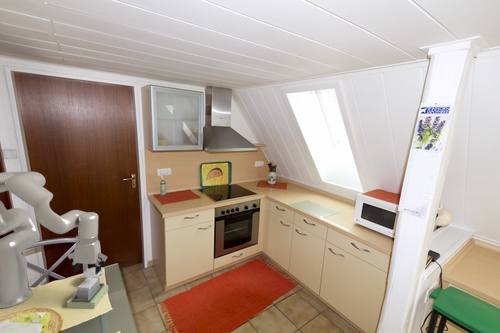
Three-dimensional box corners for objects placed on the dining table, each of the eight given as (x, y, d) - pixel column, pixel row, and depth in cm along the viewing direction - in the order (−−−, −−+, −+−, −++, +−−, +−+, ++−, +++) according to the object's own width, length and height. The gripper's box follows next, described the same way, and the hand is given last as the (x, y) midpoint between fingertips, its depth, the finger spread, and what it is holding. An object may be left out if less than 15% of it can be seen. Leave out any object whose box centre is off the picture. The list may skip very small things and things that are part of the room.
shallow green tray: (67, 307, 103) (66, 300, 103) (84, 289, 115) (83, 282, 115) (94, 308, 104) (94, 300, 104) (108, 290, 116) (108, 283, 116)
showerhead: (93, 263, 126) (108, 267, 124) (93, 275, 127) (108, 278, 125) (77, 273, 116) (93, 277, 115) (77, 285, 118) (93, 290, 116)
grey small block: (77, 299, 105) (76, 287, 104) (89, 286, 114) (89, 275, 113) (88, 299, 105) (88, 288, 104) (99, 286, 114) (99, 276, 113)
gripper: (62, 241, 101) (62, 275, 103) (102, 244, 102) (101, 277, 105) (74, 233, 108) (73, 266, 111) (111, 236, 110) (110, 268, 112)
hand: (87, 271), depth 108 cm, fingers open, 9 cm apart
